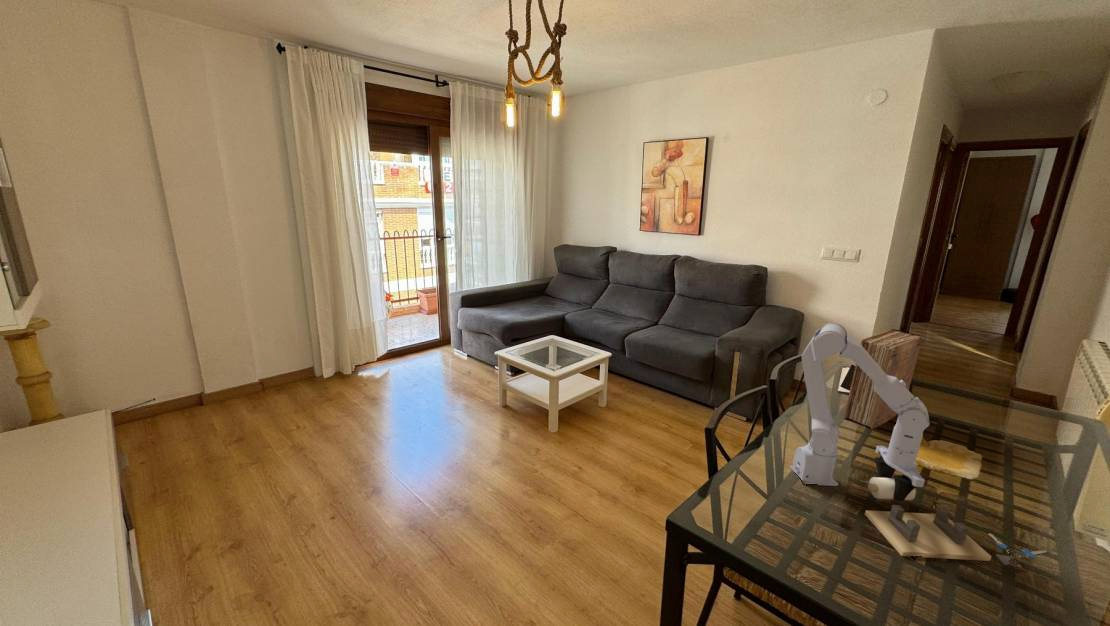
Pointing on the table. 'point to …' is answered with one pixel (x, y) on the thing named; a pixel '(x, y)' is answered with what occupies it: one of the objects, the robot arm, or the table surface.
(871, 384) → the brown upright rectangular block
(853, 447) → the table surface
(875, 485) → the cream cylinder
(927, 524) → the roll holder
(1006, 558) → the key chain
